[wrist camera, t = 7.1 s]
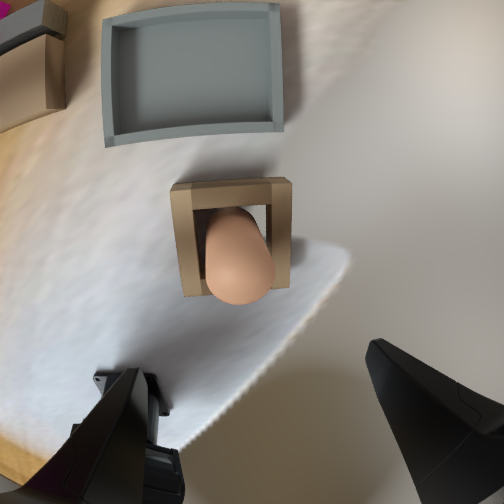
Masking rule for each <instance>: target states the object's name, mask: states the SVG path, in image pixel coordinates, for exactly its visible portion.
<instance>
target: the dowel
mask: <svg viewBox="0 0 504 504" xmlns="http://www.w3.org/2000/svg"><path fill="white" fill-rule="evenodd" d="M275 274H276V271H275V265H274V262H273V260H272V257H271V255H270V253H269V251H268V248H267V246H266V244H265V242H264V239H263V237H262V235H261V233H260V230H259V228H258V226H257V224H256V221H255V219H254V218H253V216H252V215H251V214H250V213H249V212H248V211H246V210H244V209H242V208H239V207H226V208H223V209H220V210H219V211H217V212H216V213H215V214H213V215H212V217H211V218H210V220H209V221H208V224H207V228H206V282H207V285H208V288H209V289H210V291H211V292H212V294H213V295H214V296H215V297H217V298H218V299H220V300H221V301H223V302H226V303H229V304H235V305H243V304H248V303H252V302H254V301H257V300H259V299H260V298H262V297H263V296H264V295H265V294H266V293H267V292H268V291H269V290H270V288H271V287H272V285H273V283H274V280H275Z"/></svg>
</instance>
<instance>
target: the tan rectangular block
mask: <svg viewBox="0 0 504 504" xmlns="http://www.w3.org/2000/svg"><path fill="white" fill-rule="evenodd" d="M64 109H66V103H65V83H64V41H61V40H59V39H57V38H54V37H52V36H50V35H47V34H44V35H42V36H40V37H38V38H35V39H33V40H31V41H29V42H27V43H25V44H23V45H21V46H19V47H17V48H15V49H13V50H11V51H9V52H7V53H5V54H3V55H2V56H0V133H3V132H5V131H7V130H10V129H12V128H15V127H17V126H19V125H22V124H24V123H27V122H30V121H32V120H35V119H38V118H41V117H43V116H46V115H49V114H52V113H55V112H58V111H61V110H64Z"/></svg>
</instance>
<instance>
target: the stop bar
mask: <svg viewBox="0 0 504 504" xmlns="http://www.w3.org/2000/svg"><path fill="white" fill-rule="evenodd" d="M67 16H68V12H67V11H65V10H64V9H62V8H61V7H59V6H58V5H56V4H55V3H53V2H51V1H50V0H39V1H36V2H34V3H32V4H30V5H28V6H26V7H24V8H22V9H20V10H18V11H16V12H14V13H12V14H10V15H8V16H7V17H5V18H3V19H1V20H0V56H2V55H3V54H5V53H7V52H9V51H11V50H13V49H15V48H17V47H19V46H21V45H23V44H25V43H27V42H29V41H31V40H33V39H35V38H38V37H40V36H42V35H44V34H47V35H50V36H52V37H54V38H57V39H59V38H61V37H64V36H66V26H67Z"/></svg>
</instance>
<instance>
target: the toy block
mask: <svg viewBox="0 0 504 504" xmlns="http://www.w3.org/2000/svg"><path fill="white" fill-rule="evenodd" d="M10 6H11V5H9V4H6V3H4V2H1V1H0V20H1V19H3V18H5V17H6V15H7V13H8V11H9V9H10Z"/></svg>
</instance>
